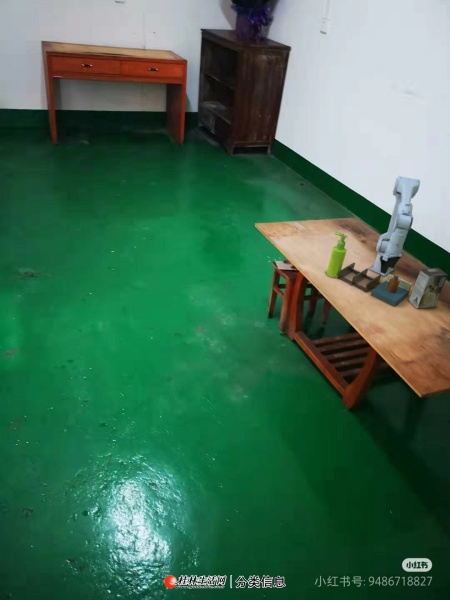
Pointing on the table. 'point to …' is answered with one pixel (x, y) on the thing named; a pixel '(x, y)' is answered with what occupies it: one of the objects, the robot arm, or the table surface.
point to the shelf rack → (358, 277)
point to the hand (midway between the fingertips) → (386, 270)
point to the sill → (392, 297)
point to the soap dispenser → (337, 257)
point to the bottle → (393, 284)
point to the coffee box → (428, 287)
